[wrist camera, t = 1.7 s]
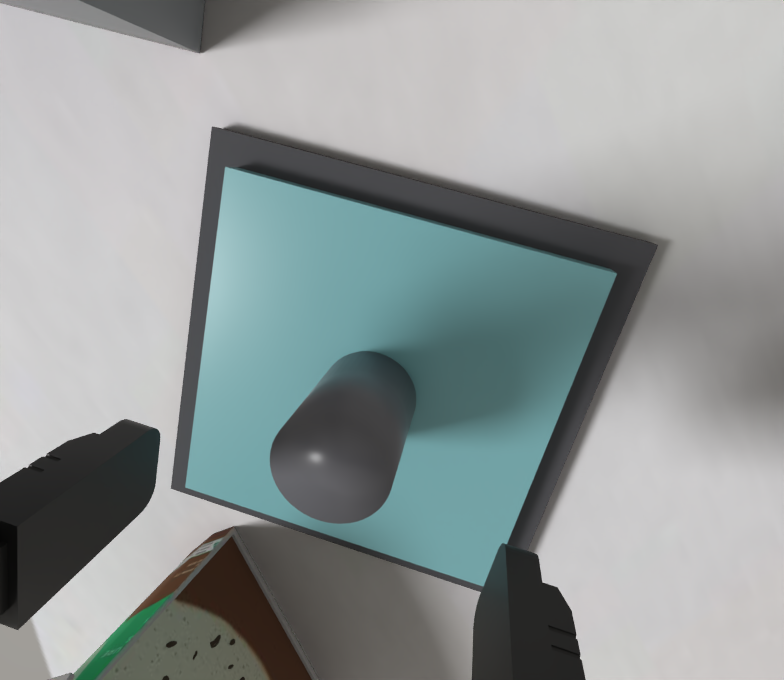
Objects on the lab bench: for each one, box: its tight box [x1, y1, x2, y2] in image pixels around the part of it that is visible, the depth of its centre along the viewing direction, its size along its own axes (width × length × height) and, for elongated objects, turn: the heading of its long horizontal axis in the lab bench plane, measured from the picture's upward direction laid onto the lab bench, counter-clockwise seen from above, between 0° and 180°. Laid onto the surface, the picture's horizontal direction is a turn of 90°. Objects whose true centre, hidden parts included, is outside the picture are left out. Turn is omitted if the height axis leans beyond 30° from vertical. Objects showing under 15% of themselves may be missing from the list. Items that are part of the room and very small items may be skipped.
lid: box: [185, 167, 617, 586], centre depth 15 cm, size 12×12×5 cm
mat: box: [171, 127, 658, 592], centre depth 18 cm, size 14×14×1 cm
